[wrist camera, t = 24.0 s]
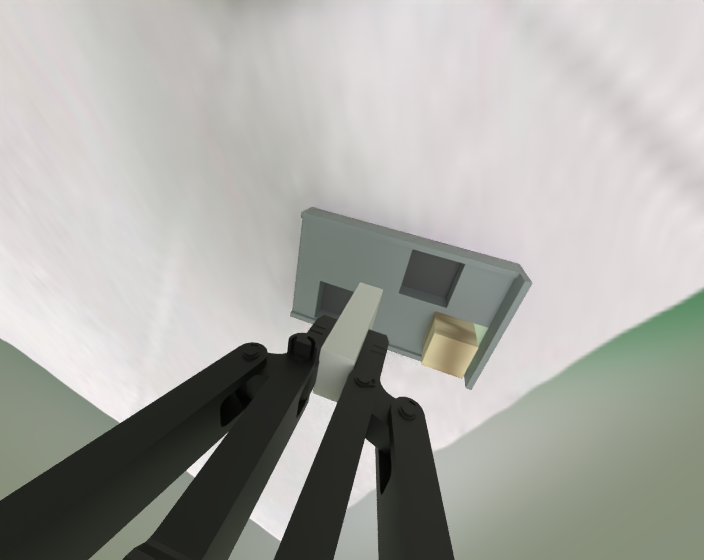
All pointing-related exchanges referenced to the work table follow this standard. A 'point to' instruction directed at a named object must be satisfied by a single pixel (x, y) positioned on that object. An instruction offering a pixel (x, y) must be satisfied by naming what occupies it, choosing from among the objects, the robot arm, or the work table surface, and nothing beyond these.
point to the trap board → (404, 283)
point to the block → (449, 344)
